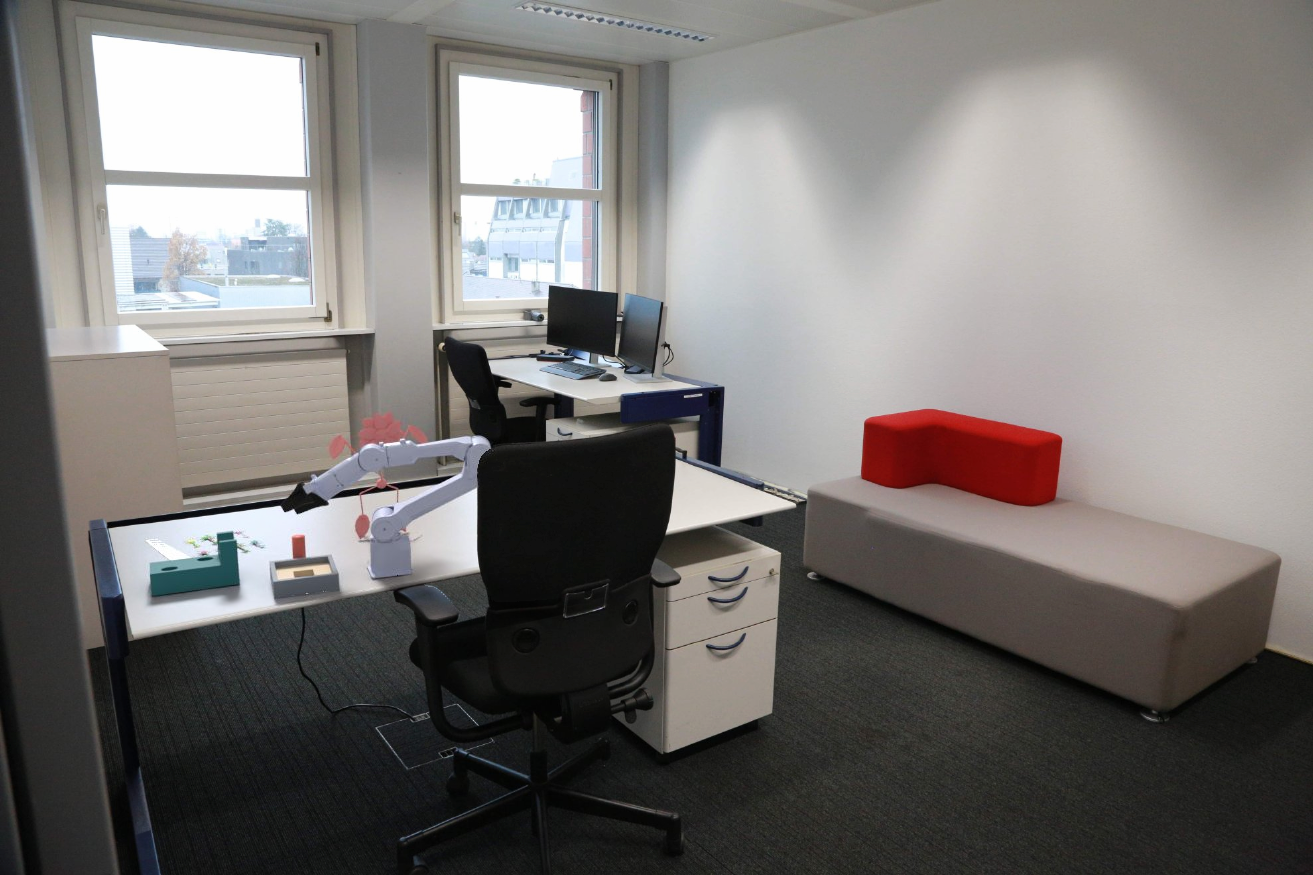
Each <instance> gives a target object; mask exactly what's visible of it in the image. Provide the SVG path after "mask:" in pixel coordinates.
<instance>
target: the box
mask: <svg viewBox="0 0 1313 875" xmlns="http://www.w3.org/2000/svg"><path fill="white" fill-rule="evenodd" d="M269 576H270V583H271V588H272V593H273V598H274V599H282V598H289V596H290V597H293V596H292V595H298V596H303V595H302V594H305V595H307V594H306V593H313V594H320V593H319V592H321V593H326V592H325V591H329V592H334V591H335V592H336V591H340V574H339V571H338V568H337V565H336V563H335V560H334V557H333V555H332V554H323V555H313V556H306V557H304V558H295V559H293V558H288V559H278V560H271V561H270V560H269ZM323 591H324V592H323ZM281 597H282V598H281Z"/></svg>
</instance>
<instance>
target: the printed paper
mask: <svg viewBox="0 0 1313 875" xmlns="http://www.w3.org/2000/svg"><path fill="white" fill-rule="evenodd" d="M236 532H237V533H236ZM236 532H233V533H234V535H235V534H236V535H240V534H241V535H242V536H243V534H244V532H246V530H244V531H241V530H240V531H238V530H236ZM245 536H246V537H245ZM215 537H216V536H215V535H214V534H213V535H212V534H211V535H209V534H206V535H204V536H201V537H197V539H198V538H199V539H200V540H209V541H211V543H210V545H217V541H215V539H212V538H215ZM242 538H244V539H246V538H249V539H250V536H247V535H245V534H244V536H243V537H242ZM154 539H155V540H158V539H157V538H154ZM154 539H152V538H151V539H147V540H145V541H146V542H147V544H149V545H150V546H152V548H153V549H155V550H157V552H159V553H160V554H161V555H163V557H165V558H166V559H167V560H168V561H169V560H177V559H185V558H191V557H190V556H188V555H187V554H185V553H183V552H182V551H179V550H178V549H175V548H174V547H172V546H170V545H168V544H166V543H164V542H163V543H158V542H162V541H161V540H159V541H150V540H154ZM234 539H236V537H235V536H234ZM152 542H157V543H152ZM183 542H186V543H187V544H192V545H194V548H199V547H201V546H202V545H198V544H196V543H195V542H196V540H193V538H192V537H191V539H189V540H187V541H184V540H183ZM258 542H259V543H261V542H262V541H259V540H252V541H249V544H251V545H252V544H255V545H256V546H258V547H261V548H264V547H265V544H258ZM154 544H155V545H154ZM156 544H157V545H156ZM160 544H164V545H160ZM162 546H163V547H162ZM164 546H165V547H164ZM242 546H244V543H243V542H241V543H238V542H237V548H239V549H241V550H242V551H241V553H248V552H249V553H251V552H252V551H251V550H249V549H245V547H242ZM214 550H215V553H216V552H217V553H218V548H216V549H214ZM197 552H198V553H197ZM208 552H209V550H208V551H206V550H202V549H201V550H200V551H197V550H196V555H197V554H198V555H206V556H210V555H211V554H209V553H208Z"/></svg>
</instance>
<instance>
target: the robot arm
mask: <svg viewBox="0 0 1313 875" xmlns="http://www.w3.org/2000/svg"><path fill="white" fill-rule="evenodd" d="M489 449H492V447H491V443H490V441H489V440H488V439H487V438H486V437H484V436H482V435H474V436H461V437H455V438H447V439H442V440H437V441H430V442H428V443H424V444H422V443H419V444H417V443H415V442H413V441H412V440H406V438H405V439H403V438H401V439H399V441H398V442H394V443H386V444H384V443H383V442H380V443H379V445H376V444H367V445H364V446H363V447H362V448H360V449H359V452H356V453H357V454H353V455H352V456H351V457H348V458H346V459H344V460H342V461H341V462H339V463H338V464H336V465H334V467H332V468H330V469H328V470H327V471H325V472H324V473H322V474H320V475H319V476H317V475H316V474H311V475H310V478H311V481H309V482H308V483H306V484H305V482H304V481H299V482H298V483H297V484H296V486H295V488H294V490H292V492H291V494H289V495H288V496H287V497H286V499H284V500H283V501H282V502H281V503H280V505H279V506H280V507H281V509H282V511H283V512H284V513H288V512H291V511H294V512H295V514H296V515H300V514H303V513H305V512H308V511H311V510H313V509H316V508H320V507H327V506H329V505H330V503H329V502H328V501H330V500H331V499H332V498H333V497H335V496H336V495H337V494H340V492H342V491H344V490H345V489H347V488H349V487H350V486H351V485H354V484H355V483H356V482H358V481H360V480H361V479H363V477H365V476H366V475H367V474H369V473H372V472H373V473H377V472H379V470H380V471H381V470H382V469H383V467H384V468H393V467H399V466H407V465H414V463H416V461H418V459H420V458H433V457H445V456H452V457H455V458H456V459H459V460H460V461H462V462H464V463H463V466H462V470H461V472H460V473H458V474H456V475H454V476H452V477H451V478H449V479H446V480H445V481H442V482H441V483H438V484H436V485H434V486H433V487H431V488H429V489H426V490H424V491H423V492H421V493H418V494H417V495H415V496H413V497H410V498H408V499H407V500H405V501H402V502H398V503H397V502H396V503H394V504H392V505H382V506H379V507H378V508H376V509H375V510H374V512H373V513H372V516H371V519H372V520H371V521H372V522H371V523H370V533H371V534H370V535H369V546H370V547H369V550H370V552H369V554H370V565H367V568H366V569H367V571H368V573H369V574H370V577H371V579H372V580H373V579H381V578H390V577H396V576H397V575H398V576H405V575H406V576H407V575H411V574H413V572H412V547H411V546H412V545H411V542H410V541H411V540H410V537H409V536H410V535H408V534H402V535H401V531H402V530H403V529H404V528H406V529H407V527H408V526H409V525H410V523H412V522H414V520H416V519H419V518H421V517H423V516H424V515H426V514H428V513H430V512H433V511H434V510H436V509H438V508H440V507H441V506H444V505H445V504H449V502H450V503H451V502H452V501H454V500H455V499H459V498H460V497H461V496H464V495H465V494H468V493H469V492H472V491H473V490H476V489H477V488H478V487H477V468H478V464H479V460H480V458H481V456H482V455H483V454H484V453H485V452H486V451H488V450H489ZM398 576H397V577H398Z"/></svg>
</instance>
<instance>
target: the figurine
mask: <svg viewBox="0 0 1313 875" xmlns="http://www.w3.org/2000/svg"><path fill="white" fill-rule="evenodd" d="M361 422H362V423H361V424H362V425H363V427H364V428H363V429H361V430H360V431H359V432H358V434H357V437H358V438H359V439H360V441H359V443H358V447H359V449H361V448H362V447H363V446H364V445H367V444H376V445H379V443H380V442H383V443H384V444H386V443H394V442H399V441H400V439H405V440H406V439H407V436H408V434H410V435H411V436H412V438H413V439H414V440H416V441H417V442H418V443H419V444H424V443H429V440H428V437H427V436H426V435H425V433H424V432H423V431H422V430H421V429H420V428H419V427H417V426H416V425H415V426H414V425H411V424H408V425H407V427H408V428H407V430H406V432H405V431H404V430H401V428H402V420H396V421H395V417H394V414H393V413H392V411H388V412H386V413H385V414H384V415H382V414H380V413H375V414H374V415H373V418H372V417H365V418H363V419H362V421H361ZM345 445H346V446H347V447H348V448H349V450H350V451H351V452H352V453H353V455H355V454H357V453H358V452H356V451H355V449H354V448H353V447H352V446H351V445H350V444H349V443H348V442H347V440H345V438H344V437H342V434H338V435H337V436H335V437H334V438H333V439H332V440H331V441H330V444H329V447H328V453H329V455H330V457H331V459H332V460H335V459H336V458H337V457H339V455H341V454H342V452H343V450H344V448H345ZM378 474H379V477H380V478H379V479H377V480H376V484H375V486H372V487H370V488H368V489H365V490H364V491H361V492H360V493H359V501H360V508H361V514H360V515H359V516H358V517H357V519H356V521H355V524H354V528H355V529H354V530H355V533H356V535H357V536H358V538H359V539H360V540H361V539H363V538H364V536H366V535H367V533H368V531H369V529H370V528H371V521H370V519H369V516H368V515H367V514H365V513H364V507H363V506H364V505H363V499H362V494H364V493H366V492H368V491H370V490H373V489H375V488H378V489H384V488H386V486H387V487H389V488H392V489H395V490H396V503H399V488H398V487H396V486H393V485H390V484H388V482H387V480H386V479H385V478H383V476H382V472H381V469H380V470H379V471H378ZM401 531H403V532H404V533H406V532H407V527H406V528H404V529H403V530H401ZM420 536H421V537H422V534H421V535H420ZM420 536H418V537H417V538H415V539H413V542H415V541H417V539H419V538H420ZM411 542H412V540H410V543H411Z"/></svg>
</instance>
